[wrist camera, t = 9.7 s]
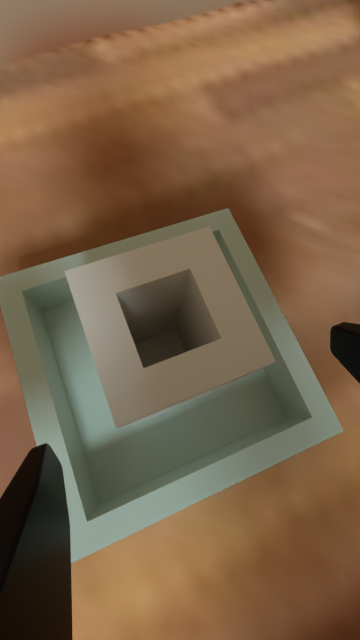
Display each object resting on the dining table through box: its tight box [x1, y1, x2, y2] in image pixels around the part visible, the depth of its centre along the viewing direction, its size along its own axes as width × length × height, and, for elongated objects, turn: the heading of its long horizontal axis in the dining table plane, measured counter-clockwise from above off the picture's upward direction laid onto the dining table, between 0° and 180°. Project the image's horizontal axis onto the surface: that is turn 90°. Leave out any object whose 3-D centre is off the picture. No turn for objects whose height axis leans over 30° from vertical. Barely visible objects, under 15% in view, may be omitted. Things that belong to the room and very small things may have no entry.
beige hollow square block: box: [64, 226, 276, 428], centre depth 15 cm, size 6×6×9 cm
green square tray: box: [0, 208, 344, 563], centre depth 18 cm, size 14×14×4 cm
